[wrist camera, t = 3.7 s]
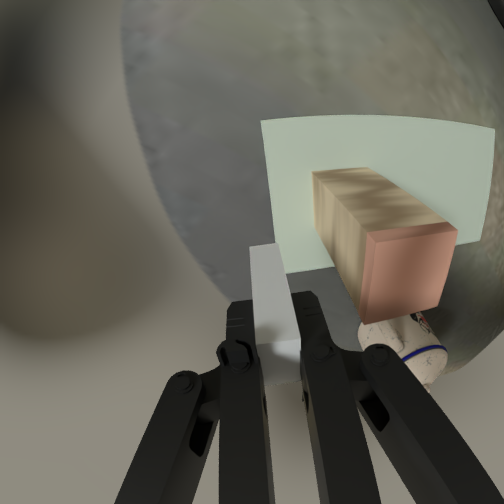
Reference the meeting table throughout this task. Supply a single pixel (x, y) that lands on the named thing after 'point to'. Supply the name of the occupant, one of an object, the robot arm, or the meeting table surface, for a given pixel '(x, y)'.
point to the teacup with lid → (409, 344)
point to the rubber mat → (382, 162)
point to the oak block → (381, 242)
